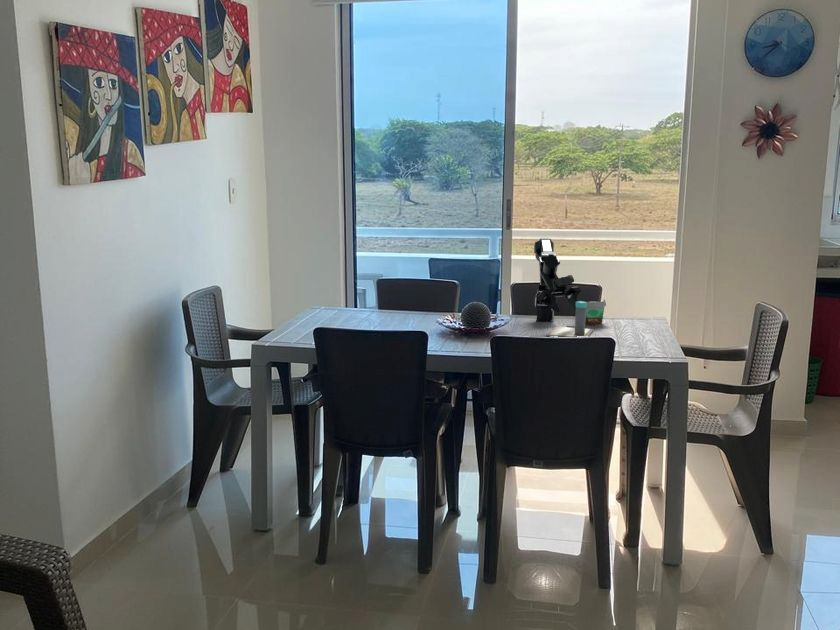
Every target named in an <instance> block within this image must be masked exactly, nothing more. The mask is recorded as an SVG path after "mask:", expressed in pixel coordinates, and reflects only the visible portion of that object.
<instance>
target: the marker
mask: <svg viewBox="0 0 840 630" xmlns="http://www.w3.org/2000/svg"><path fill="white" fill-rule="evenodd" d="M582 301H583V300H580V301H579V300H577V302H576V311H575V314H574V315H575V317H574V319H575V320H574V326H575V332H574V335H578V336H583V335H585V328H586V325H585V319H586V305H587V302H588V301H584V302H582Z"/></svg>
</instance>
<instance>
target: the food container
mask: <svg viewBox="0 0 840 630" xmlns="http://www.w3.org/2000/svg"><path fill="white" fill-rule="evenodd" d="M578 301H582V302H585V301H584V300H578ZM586 302H587V305H586V319H585V326H600V325H602V324H603V318H604V313H605V307H606V306H607V302H606V300H605V299H603V301H593V300H591V301H586Z"/></svg>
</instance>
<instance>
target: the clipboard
mask: <svg viewBox="0 0 840 630" xmlns="http://www.w3.org/2000/svg"><path fill="white" fill-rule="evenodd" d="M594 331H595V329H594V328H587V327H585V335H583V336H589V335H590V334H591V335H592V333H593V332H594ZM574 332H575V325H569V324H567V325H566V326H560V325H555V326H554V327H553V328H551V329H550V330H549V331H548V333H547V334H545V337H546V336H558V337H577V336H578V335H574ZM591 335H590V336H591ZM590 336H589V337H590Z"/></svg>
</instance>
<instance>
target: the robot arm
mask: <svg viewBox="0 0 840 630" xmlns="http://www.w3.org/2000/svg"><path fill="white" fill-rule="evenodd" d="M554 246H555V243H554V241H552V238H550V237H541V238H539V240H537V241H535V242H534V246H533V253H534V254H535V259H536V260H537V261H538V267H539V283H540V284H538V288H537V293H535V298H534V306H535V308H536V319H535V322H541V323H542V322H543V323H552V321H554V316H555V313H554V312H556V313H558V314H560V313H561V310H560V308H559V307H560V306H558V303H557V302H558V298H559V297H560V298H561V297H565V299H567V300H566V302H568V304H569V305H570V306H571V307H572V308H573V310H574V311H575V312H576V302H578V296H579V294H581V292H582V290H581V289H580V286H570V288H568V286H569V285H572V284H573V283H574V282H575V279H574V277H573V276H574V275H572V274H568V275H566V276H562V277H559V276H558V274H557V271H558V267H559V265H561V261H560V260H561V259H559V257H558V256H557V253H556V252H554V250H555V249H554V248H555V247H554Z"/></svg>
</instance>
